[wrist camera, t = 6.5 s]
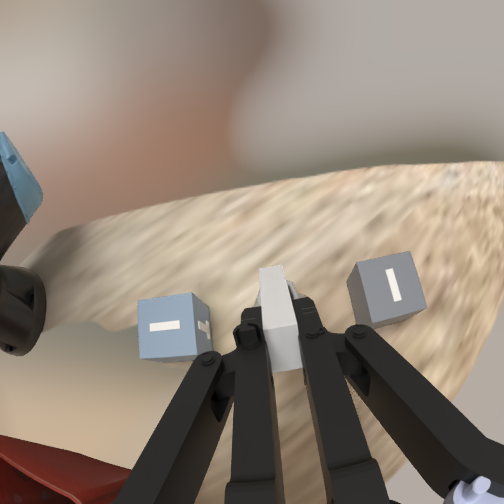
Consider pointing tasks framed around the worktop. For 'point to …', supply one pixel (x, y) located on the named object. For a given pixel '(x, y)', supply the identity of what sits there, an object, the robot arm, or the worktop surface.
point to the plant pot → (55, 475)
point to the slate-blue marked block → (173, 328)
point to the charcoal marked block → (385, 290)
